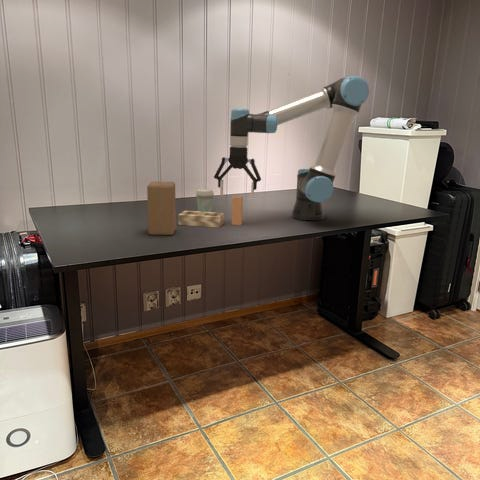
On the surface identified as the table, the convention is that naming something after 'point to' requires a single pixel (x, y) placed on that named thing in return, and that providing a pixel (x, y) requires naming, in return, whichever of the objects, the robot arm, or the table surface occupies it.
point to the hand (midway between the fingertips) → (236, 196)
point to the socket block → (201, 219)
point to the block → (161, 208)
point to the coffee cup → (204, 200)
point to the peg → (237, 210)
